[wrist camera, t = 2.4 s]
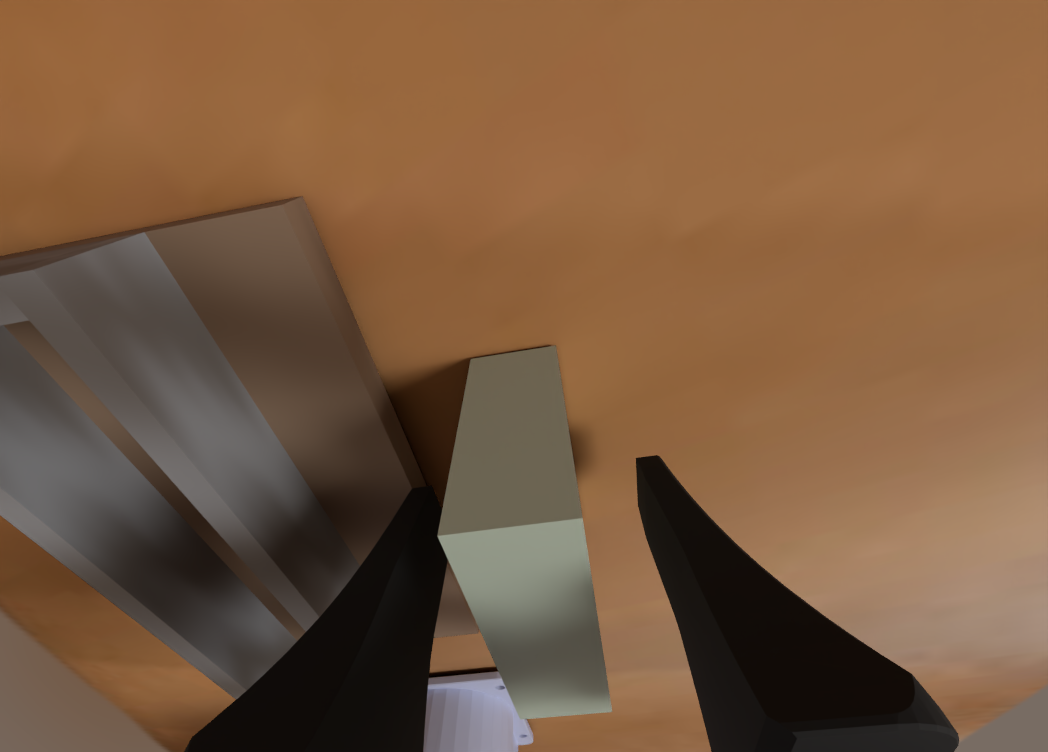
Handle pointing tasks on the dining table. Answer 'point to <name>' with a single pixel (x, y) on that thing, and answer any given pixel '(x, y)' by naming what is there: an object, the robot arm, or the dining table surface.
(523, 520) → the panel
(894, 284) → the dining table surface
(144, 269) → the grey metal tray
